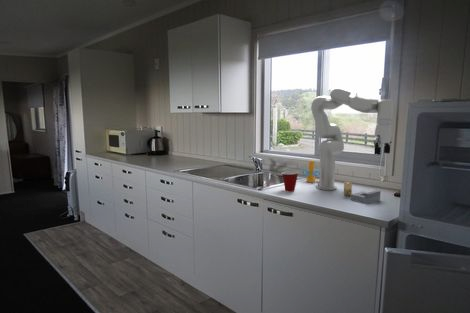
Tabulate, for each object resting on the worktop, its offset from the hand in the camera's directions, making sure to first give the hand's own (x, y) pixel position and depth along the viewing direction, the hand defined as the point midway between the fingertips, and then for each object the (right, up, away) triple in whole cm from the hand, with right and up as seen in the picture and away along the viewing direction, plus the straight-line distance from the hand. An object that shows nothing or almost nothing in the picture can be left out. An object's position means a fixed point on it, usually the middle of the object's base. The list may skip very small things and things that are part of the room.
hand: (382, 153), depth 178 cm
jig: (-7, -26, +6) cm, 28 cm away
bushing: (-14, -25, +15) cm, 32 cm away
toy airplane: (-26, -20, +55) cm, 64 cm away
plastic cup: (-46, -23, +29) cm, 59 cm away
